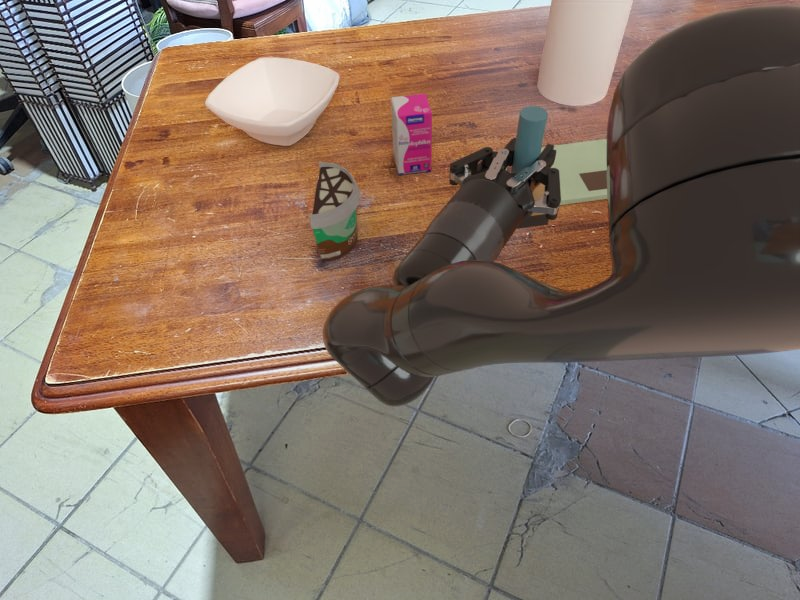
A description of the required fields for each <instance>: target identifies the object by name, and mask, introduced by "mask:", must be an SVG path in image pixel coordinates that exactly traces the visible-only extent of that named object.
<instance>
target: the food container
mask: <svg viewBox="0 0 800 600" xmlns="http://www.w3.org/2000/svg"><path fill="white" fill-rule="evenodd" d="M318 168H319V173H318V178H317V184H316V188H315V194H314V201H313V207H312V212H311V214H308V216H309V224H310V225H309V226H310V229H311V230H312V231H313V235H314V238H315V242H316V247H317V250H318V253H319V257H320V261H321V262H322V263H323V262H331V261H336V260H339V259H341V258H342V257H344V256H346V255H348V254H349V253H350V252H351V251H352V250H353V249H354V248H355V247H356V245H357V243H358V219H357V218H358V217H357V207H358V206H359V203H360V201H361V192H360V188H359V186H358V184H357V181H356V179H355V178H354V176H353V175H352V174H351V172H350V171H348V170H347V168H345V167H343V166H341V165H339V164H336V163H332V162H326V161H318Z"/></svg>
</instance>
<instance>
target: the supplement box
mask: <svg viewBox="0 0 800 600" xmlns="http://www.w3.org/2000/svg"><path fill="white" fill-rule="evenodd" d="M390 108H391V109H390V110H391V131H392V133H391V134H392V152H393V159H394V164H395V167H396V172H397V175H398V176H404V175H409V174H411V175H412V174H418V173H429V172H431V171H432V146H433V144H432V143H433V142H432V141H433V140H432V139H433V111H432V108H431V106H430V103H429V100H428V97H427V94H426V93H418V94H408V95H400V96H391V97H390Z"/></svg>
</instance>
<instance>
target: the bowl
mask: <svg viewBox="0 0 800 600" xmlns="http://www.w3.org/2000/svg"><path fill="white" fill-rule="evenodd" d="M339 83H340V74H339V73H338V72H336V71H335V70H333V69H331V68H329V67H327V66H324V65H321V64H317V63H313V62H309V61H306V60H301V59H293V58H288V57H287V58H286V57H276V56H275V57H274V56H272V57H271V56H270V57H269V56H267V57H259V58H256V59H254V60H252V61H250V62H248V63H246V64H244V65H243V66H241V67H239V68H237V69H236V70H235V71H234V72H231V74H229V75H228V76H226V77H225V78H223V80H221V82H219V83H218V84H217V85H216V87H214V89H212V91H211V92H210V93H209V94H208V96H207V97H206V100H205V102H204V105H205V107H206V108H207V109H208V110H209V111H210V112H212V113H213V114H215V115H216V117H218V118H219V119H221V120H222V121H223V122H225V123H226V124H228V125H230V126H231V127H234V128H236V129H239V130H242V131H243V132H244V133H245V134H247V135H248V136H249V137H250V138H252V139H254V140H257V141H259V142H261V143H264V144H268V145H273V146H284V147H290V146H292V145H294V144H296V143H298V141H300V140H302V139H304V137H305V136H307V135H308V134H309V132H310V131H311V130H312V128H313V127H314V125H315V124H316V123H317V121H318V118H319V117H320V116H321V115H322V113H323V112H324V111H325V110H326V109H327V107H328V105H329V104H330V102H331V101H332V99H333V96H334V95H335V92H336V90H337V88H338V85H339Z"/></svg>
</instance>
